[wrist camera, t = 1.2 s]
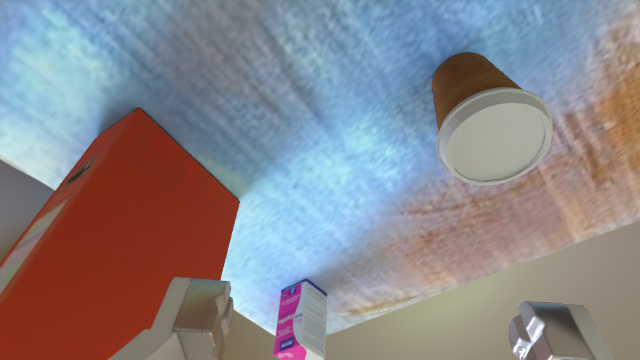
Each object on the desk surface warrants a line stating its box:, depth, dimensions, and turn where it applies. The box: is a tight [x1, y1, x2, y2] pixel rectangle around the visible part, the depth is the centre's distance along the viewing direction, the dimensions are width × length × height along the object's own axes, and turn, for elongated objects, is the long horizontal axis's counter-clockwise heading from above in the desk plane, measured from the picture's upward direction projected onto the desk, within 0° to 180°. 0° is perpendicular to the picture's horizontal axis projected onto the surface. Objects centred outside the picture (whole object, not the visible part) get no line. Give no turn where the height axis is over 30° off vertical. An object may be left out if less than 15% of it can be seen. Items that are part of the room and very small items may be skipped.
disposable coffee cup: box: [432, 52, 553, 186], centre depth 38 cm, size 10×10×12 cm
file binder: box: [0, 108, 240, 360], centre depth 40 cm, size 8×17×32 cm, turn 33°
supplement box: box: [274, 279, 327, 360], centre depth 64 cm, size 6×6×12 cm
